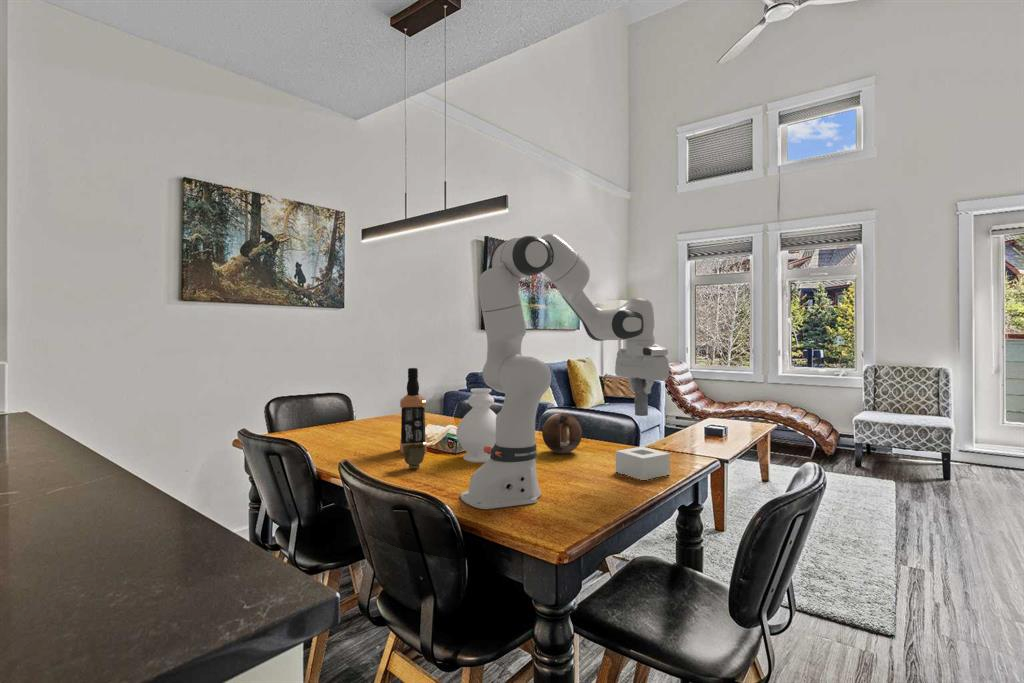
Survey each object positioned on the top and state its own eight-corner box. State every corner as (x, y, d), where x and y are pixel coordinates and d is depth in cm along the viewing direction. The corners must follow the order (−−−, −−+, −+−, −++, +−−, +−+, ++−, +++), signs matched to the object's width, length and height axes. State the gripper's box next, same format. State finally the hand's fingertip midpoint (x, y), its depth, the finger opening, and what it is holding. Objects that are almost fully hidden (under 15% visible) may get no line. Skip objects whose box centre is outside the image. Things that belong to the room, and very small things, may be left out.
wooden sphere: (547, 447, 205) (547, 409, 205) (585, 450, 200) (585, 411, 200) (537, 455, 191) (537, 415, 190) (577, 458, 186) (577, 417, 186)
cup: (427, 470, 170) (427, 446, 170) (404, 472, 168) (404, 448, 167) (422, 465, 177) (422, 441, 177) (401, 467, 175) (400, 443, 174)
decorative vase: (475, 467, 175) (475, 393, 174) (446, 457, 188) (446, 389, 188) (515, 459, 186) (515, 389, 185) (486, 450, 200) (486, 385, 199)
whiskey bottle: (426, 454, 194) (426, 368, 193) (399, 455, 191) (399, 369, 191) (425, 448, 204) (425, 367, 203) (399, 449, 202) (399, 367, 201)
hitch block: (643, 481, 158) (643, 458, 158) (615, 472, 168) (615, 450, 168) (669, 475, 164) (670, 453, 164) (641, 467, 175) (641, 446, 174)
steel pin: (641, 416, 162) (641, 378, 162) (632, 414, 166) (631, 377, 165) (650, 414, 164) (650, 377, 164) (641, 413, 168) (640, 376, 167)
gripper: (610, 349, 171) (611, 390, 172) (657, 350, 154) (658, 396, 155) (624, 348, 175) (624, 388, 175) (672, 349, 157) (672, 395, 158)
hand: (640, 392), depth 165 cm, fingers closed on steel pin, 4 cm apart
